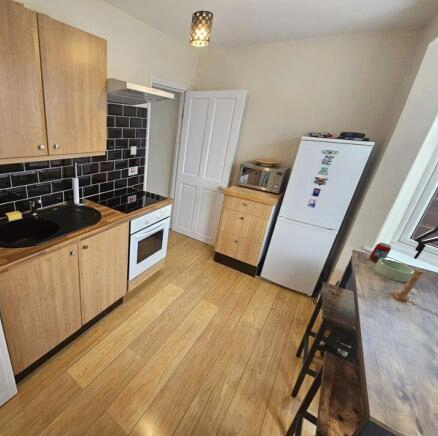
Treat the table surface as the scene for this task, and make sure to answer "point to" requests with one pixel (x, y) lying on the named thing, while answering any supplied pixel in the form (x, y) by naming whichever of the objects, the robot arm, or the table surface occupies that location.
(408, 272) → the bowl
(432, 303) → the table surface
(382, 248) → the beverage can
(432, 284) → the table surface
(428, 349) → the table surface
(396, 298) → the coaster
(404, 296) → the stirring pestle
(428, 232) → the robot arm
